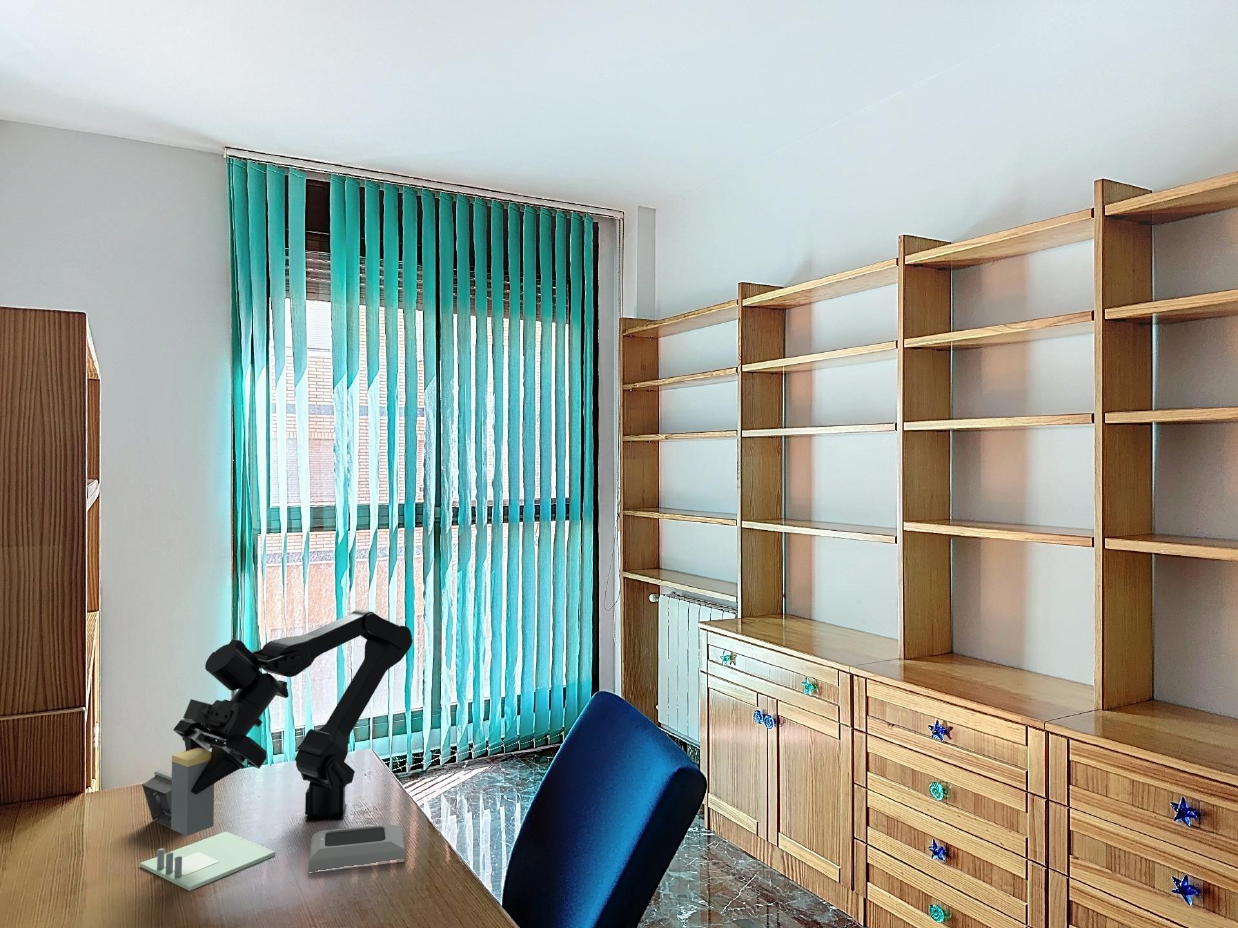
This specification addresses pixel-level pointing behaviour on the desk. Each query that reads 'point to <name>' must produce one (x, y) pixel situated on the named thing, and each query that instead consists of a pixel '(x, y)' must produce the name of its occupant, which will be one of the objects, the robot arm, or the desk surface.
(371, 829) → the grey beveled box
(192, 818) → the plug block
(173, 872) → the board
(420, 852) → the desk surface
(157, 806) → the electrical switch
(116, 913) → the desk surface
